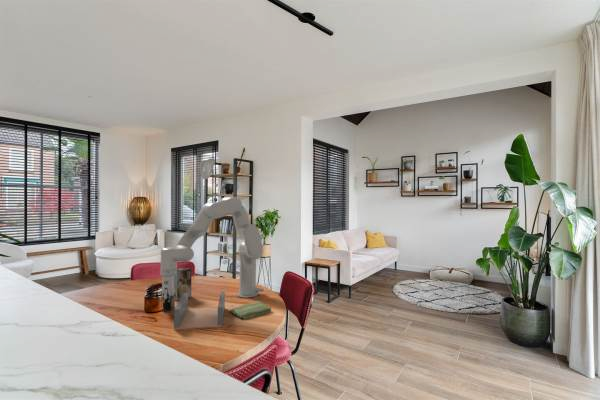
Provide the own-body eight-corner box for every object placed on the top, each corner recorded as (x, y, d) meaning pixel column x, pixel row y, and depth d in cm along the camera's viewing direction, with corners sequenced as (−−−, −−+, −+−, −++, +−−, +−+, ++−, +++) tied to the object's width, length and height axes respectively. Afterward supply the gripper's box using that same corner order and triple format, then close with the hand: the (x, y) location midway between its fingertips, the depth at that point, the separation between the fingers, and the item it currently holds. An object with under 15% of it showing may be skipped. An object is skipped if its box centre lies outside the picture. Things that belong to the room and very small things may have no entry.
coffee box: (185, 294, 180) (185, 267, 180) (191, 296, 176) (192, 268, 176) (170, 298, 172) (170, 269, 172) (176, 300, 168) (177, 271, 168)
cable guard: (224, 309, 158) (224, 291, 158) (222, 327, 135) (222, 306, 135) (183, 311, 154) (183, 293, 154) (173, 330, 131) (174, 309, 131)
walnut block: (174, 307, 159) (174, 295, 159) (172, 310, 154) (172, 298, 154) (164, 307, 158) (164, 295, 158) (161, 311, 153) (161, 299, 153)
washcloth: (228, 313, 153) (228, 306, 153) (259, 305, 163) (259, 299, 163) (241, 321, 142) (241, 314, 142) (273, 313, 153) (273, 306, 153)
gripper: (173, 276, 148) (172, 313, 148) (179, 268, 165) (179, 302, 165) (156, 276, 147) (155, 314, 147) (164, 268, 163) (164, 302, 163)
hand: (168, 307), depth 156 cm, fingers closed on walnut block, 5 cm apart
